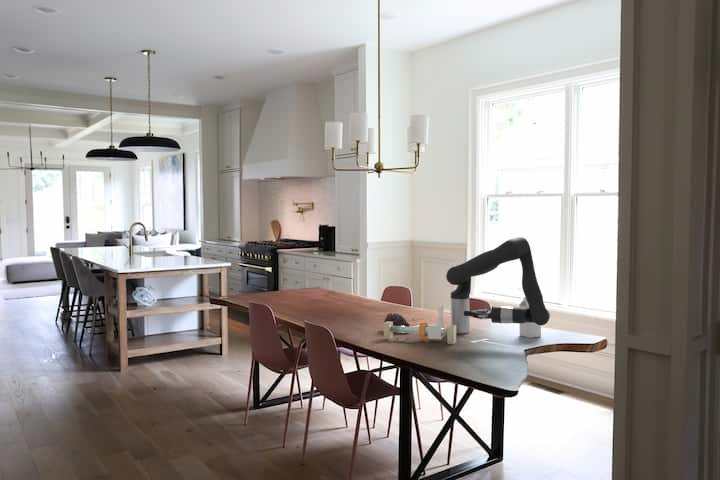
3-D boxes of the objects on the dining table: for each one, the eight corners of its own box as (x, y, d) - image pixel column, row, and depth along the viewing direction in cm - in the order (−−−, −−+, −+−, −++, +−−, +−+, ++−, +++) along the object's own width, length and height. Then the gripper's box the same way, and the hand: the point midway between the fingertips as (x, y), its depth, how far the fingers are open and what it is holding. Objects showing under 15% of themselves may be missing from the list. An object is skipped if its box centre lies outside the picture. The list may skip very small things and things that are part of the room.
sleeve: (443, 336, 271) (443, 305, 270) (440, 339, 266) (440, 307, 265) (431, 335, 273) (430, 304, 273) (428, 338, 268) (427, 306, 267)
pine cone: (417, 331, 295) (413, 317, 289) (404, 343, 290) (400, 328, 284) (392, 318, 307) (389, 304, 301) (379, 329, 302) (375, 315, 296)
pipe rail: (457, 340, 270) (456, 324, 270) (453, 345, 262) (452, 327, 262) (388, 336, 283) (388, 320, 283) (382, 340, 275) (382, 324, 274)
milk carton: (519, 335, 279) (519, 296, 279) (531, 334, 282) (531, 295, 281) (528, 338, 273) (528, 298, 272) (541, 336, 275) (540, 297, 274)
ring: (428, 337, 275) (428, 321, 275) (423, 340, 268) (423, 324, 267) (423, 336, 276) (423, 320, 275) (419, 340, 269) (418, 323, 268)
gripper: (504, 304, 264) (466, 303, 270) (500, 308, 251) (461, 307, 258) (504, 320, 264) (467, 318, 270) (500, 325, 252) (461, 324, 258)
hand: (464, 313), depth 264 cm, fingers closed
